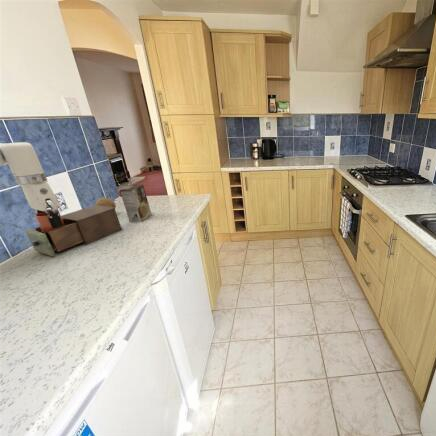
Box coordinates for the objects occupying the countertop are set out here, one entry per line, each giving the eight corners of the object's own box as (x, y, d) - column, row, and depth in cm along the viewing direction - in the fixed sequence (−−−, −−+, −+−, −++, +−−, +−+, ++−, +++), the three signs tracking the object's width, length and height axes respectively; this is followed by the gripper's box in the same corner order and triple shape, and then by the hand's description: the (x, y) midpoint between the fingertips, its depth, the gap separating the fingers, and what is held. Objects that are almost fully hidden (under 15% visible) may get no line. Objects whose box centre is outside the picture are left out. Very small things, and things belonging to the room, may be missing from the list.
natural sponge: (120, 215, 126) (114, 197, 122) (100, 220, 120) (92, 202, 116) (116, 211, 132) (110, 193, 128) (96, 216, 126) (89, 198, 122)
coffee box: (140, 214, 127) (131, 184, 120) (152, 214, 127) (143, 184, 120) (128, 221, 118) (118, 190, 112) (141, 221, 118) (132, 189, 112)
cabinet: (86, 244, 98) (76, 220, 94) (68, 239, 103) (58, 216, 98) (122, 229, 110) (114, 207, 106) (104, 225, 115) (96, 204, 111)
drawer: (47, 258, 88) (36, 236, 84) (30, 252, 92) (19, 231, 88) (91, 239, 100) (83, 220, 96) (75, 235, 104) (67, 216, 101)
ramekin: (59, 224, 97) (52, 209, 94) (69, 226, 94) (62, 211, 92) (38, 231, 91) (30, 215, 89) (48, 233, 89) (40, 217, 86)
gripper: (58, 178, 85) (77, 224, 92) (32, 175, 91) (51, 218, 99) (30, 184, 79) (53, 233, 86) (4, 179, 85) (27, 225, 92)
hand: (52, 224), depth 92 cm, fingers closed on ramekin, 6 cm apart
